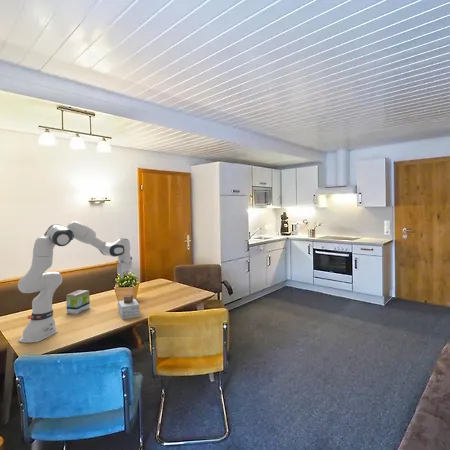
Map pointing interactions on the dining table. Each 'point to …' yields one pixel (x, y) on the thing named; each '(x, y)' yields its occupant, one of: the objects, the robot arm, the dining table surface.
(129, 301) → the walnut block
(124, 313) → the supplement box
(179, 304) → the dining table surface
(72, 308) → the tea box
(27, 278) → the robot arm
